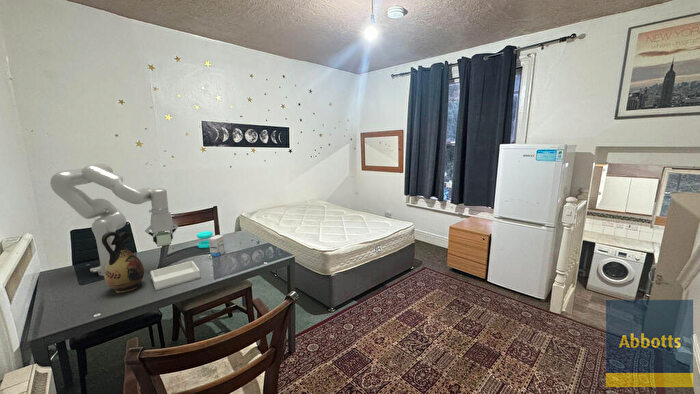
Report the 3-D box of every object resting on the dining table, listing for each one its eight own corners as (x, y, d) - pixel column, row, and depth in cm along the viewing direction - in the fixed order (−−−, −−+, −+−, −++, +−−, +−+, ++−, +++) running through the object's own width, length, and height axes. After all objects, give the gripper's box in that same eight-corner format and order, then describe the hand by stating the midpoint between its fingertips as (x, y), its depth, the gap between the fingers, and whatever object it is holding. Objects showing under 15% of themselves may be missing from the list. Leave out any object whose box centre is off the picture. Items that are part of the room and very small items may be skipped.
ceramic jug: (133, 278, 149) (125, 224, 143) (153, 283, 143) (145, 227, 137) (95, 294, 133) (84, 234, 127) (115, 301, 127) (105, 238, 122)
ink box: (216, 256, 177) (215, 239, 175) (209, 256, 178) (208, 238, 176) (225, 251, 185) (223, 235, 183) (218, 251, 186) (217, 234, 184)
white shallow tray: (155, 290, 136) (154, 282, 136) (151, 278, 148) (150, 271, 147) (200, 278, 149) (199, 270, 149) (193, 268, 161) (192, 260, 160)
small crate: (157, 246, 154) (156, 236, 153) (156, 243, 159) (154, 233, 158) (171, 244, 158) (170, 234, 157) (169, 241, 163) (168, 231, 162)
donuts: (193, 235, 188) (200, 230, 198) (195, 249, 190) (201, 244, 200) (208, 234, 189) (214, 230, 199) (210, 248, 191) (216, 243, 201)
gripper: (141, 214, 147) (145, 246, 150) (179, 210, 158) (182, 240, 161) (140, 211, 152) (143, 242, 156) (177, 207, 164) (179, 236, 167)
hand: (163, 241), depth 158 cm, fingers closed on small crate, 6 cm apart
